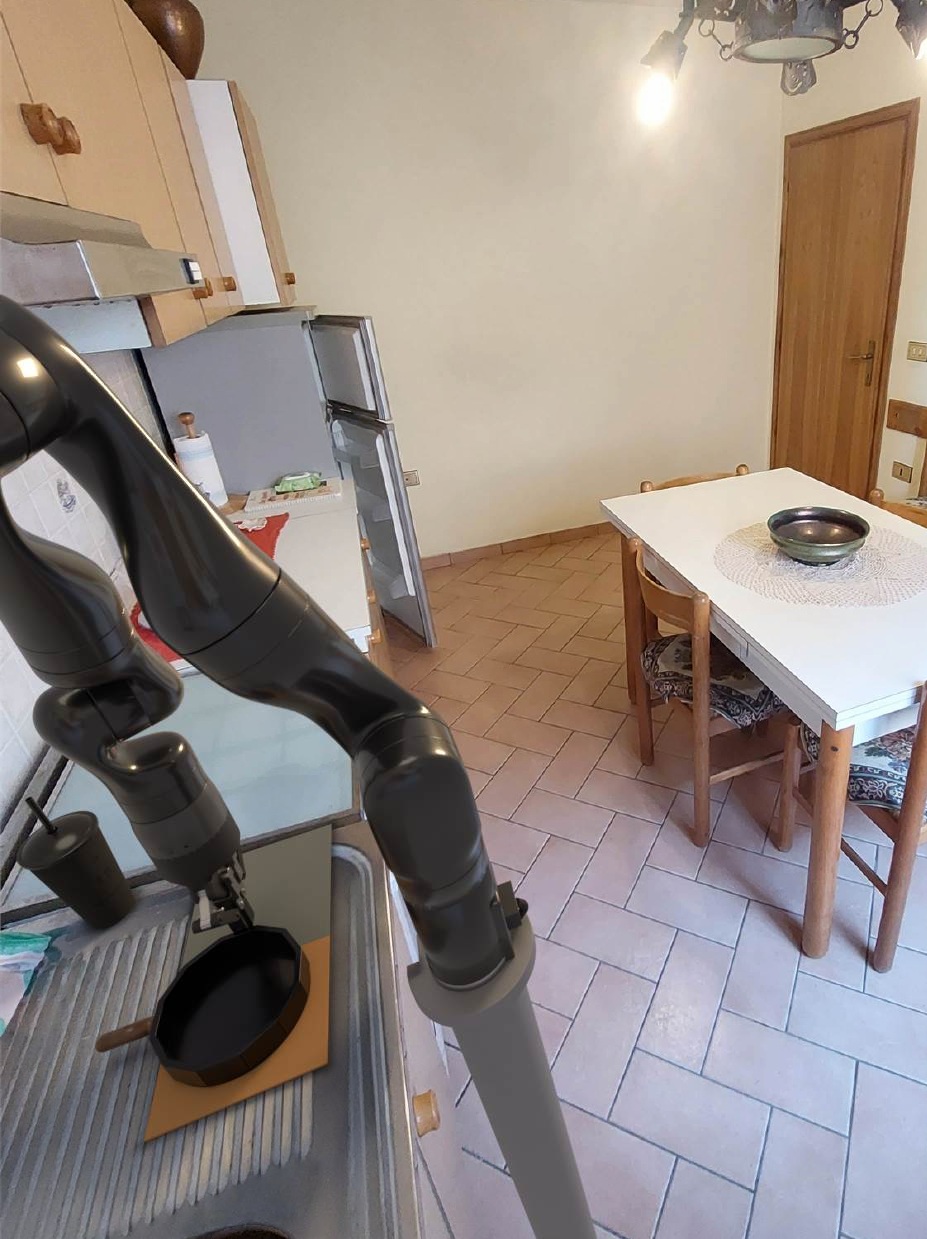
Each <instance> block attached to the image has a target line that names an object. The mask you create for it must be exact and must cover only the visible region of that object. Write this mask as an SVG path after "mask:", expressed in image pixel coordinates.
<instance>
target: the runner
mask: <svg viewBox="0 0 927 1239" xmlns="http://www.w3.org/2000/svg"><path fill="white" fill-rule="evenodd" d="M332 830H333V825H332V823H330V824H327V825H324V826H321V827H318V828H314V829H312V830H309V831H306V832H302V833H299V834H297V835H295V836H291V837H288V838H285V839H281V840H279V841H276V842H273V843H270V844H267V845H263V846H261V847H258V848H256V849H252V850H249V851H246V852H242V857H243V862H244V867H245V872H246V878H245V879H244V880H242V882H243V884H244V886H245V888H246V894H245V897H246V899H247V901H248V902H249V904H250V906H251V908H252V909H253V911H254V913H255V914H254V922H253V926H254V925H264V926H272V927H280V928H285V929H287V930H288V932H289V933H290V934H291V935H292V937H293V938H294V939H295V940H296V942H297V943H298V944H299V945H300V947H301V948H302V950H303V952H304V953H305V955H306V957H307V959H308V961H309V962H310V974H311V985H310V992H309V996H308V1000H307V1003H306V1006H305V1008H304V1011H303V1013H302V1015H301V1017H300V1019H299V1021H298V1022H297V1024H296V1026H295V1027H294V1029H293V1030H292V1032H291V1033H290V1034H289V1036H288V1037H287V1038H286V1040H285V1041H284V1042H283V1043H282V1044H281V1045H280V1047H279V1048H278V1049H277V1050H276V1051H275V1052H274V1053H273V1054H272V1055H271V1056H269V1057H268V1058H267V1059H266V1060H265V1061H264V1062H262V1063H261V1064H260V1065H258V1066H257V1067H256V1068H254V1069H253V1070H251V1071H250V1072H248V1073H246V1074H245V1075H243V1076H241V1077H239V1078H237V1079H235V1080H233V1081H230V1082H227V1083H224V1084H222V1085H217V1086H213V1087H193V1086H189V1085H186V1084H184V1083H182V1082H179V1081H175V1080H174V1079H173V1078H172V1077H171V1076H170V1075H169V1073H168V1072H167V1071H166V1070H165V1069H164V1067H163V1066H162V1065H161V1063H160V1065H159V1068H158V1074H157V1078H156V1083H155V1086H154V1092H153V1097H152V1101H151V1106H150V1111H149V1115H148V1120H147V1125H146V1128H145V1133H144V1138H143V1142H144V1143H147V1142H150V1141H152V1140H154V1139H157V1138H160V1137H161V1136H163V1135H166V1134H168V1133H171V1132H173V1131H175V1130H177V1129H180V1128H183V1127H185V1126H187V1125H189V1124H192V1123H194V1122H196V1121H199V1120H201V1119H203V1118H206V1117H208V1116H210V1115H213V1114H216V1113H217V1112H220V1111H222V1110H224V1109H227V1108H229V1107H231V1106H234V1105H237V1104H238V1103H241V1102H243V1101H245V1100H248V1099H251V1098H253V1097H255V1096H257V1095H260V1094H262V1093H264V1092H266V1091H269V1090H272V1089H274V1088H276V1087H278V1086H280V1085H283V1084H285V1083H288V1082H290V1081H292V1080H295V1079H297V1078H299V1077H302V1076H304V1075H306V1074H308V1073H312V1072H314V1071H316V1070H318V1069H320V1068H323V1067H325V1066H327V1065H328V1064H329V1019H330V1018H329V1015H330V1014H329V1009H330V959H331V958H330V956H331V954H330V951H331V950H330V949H331V896H332V895H331V894H332V893H331V890H332V889H331V888H332V886H331V884H332V838H333V837H332V834H333V831H332ZM198 915H200V910H199V904H195V903H194V907H193V912H192V916H191V922H190V926H189V930H188V935H187V940H186V944H185V947H184V948H185V949H184V954H183V958H182V962H181V967H180V970H181V969H182V968H183V966H184V965H185V964H186V963H188V962H189V961H190V960H191V959H193V958H194V957H195V956H197V955H198V954H199V953H201V952H202V951H203V950H204V949H206V948H207V947H208V946H210V945H211V944H212V943H214V942H215V941H216V940H217V939H219V938H221V937H223V936H226V935H228V934H231V933H234V932H233V931H232V930H231V929H230V927H229V925H228V924H227V925H224V926H221V927H218V928H215V929H211V930H208V931H204V932H200V933H196V934H194V933H193V931H192V923H193V921H196V920H197V916H198Z"/></svg>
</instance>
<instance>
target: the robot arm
mask: <svg viewBox="0 0 927 1239" xmlns="http://www.w3.org/2000/svg"><path fill="white" fill-rule="evenodd" d="M42 451H44V452H45V453H46V454H47V455H49V456H50V457H51V458H53V459H54V460H55V462H57V464H58V465H59V466H61V467H62V468H63V469H64V470H65V471H66V472H67V473H68V474H69V475H70V476H71V477H72V479H74V481H75V482H76V483H77V484H78V485H80V487H81V488H82V489H83V490H84V491H85V492H86V493H87V494H88V496H89V497H90V498H91V499H92V501H93V502H94V503H95V505H96V506H97V508H98V509H99V510H100V512H101V514H102V515H103V517H104V518H105V520H106V522H107V524H108V526H109V528H110V529H111V532H112V534H113V537H114V540H115V542H116V545H117V547H118V550H119V554H120V557H121V560H122V562H123V566H124V569H125V571H126V574H127V577H128V581H129V582H130V586H131V589H132V592H133V593H134V596H135V599H136V601H137V603H138V606H139V608H140V611H141V612H142V615H143V617H144V619H145V621H146V623H147V625H148V626H149V628H150V629H151V631H152V633H153V634H154V635H155V637H157V638H158V640H159V641H160V642H161V643H162V644H164V645H165V646H166V648H167V647H168V649H170V650H171V651H172V652H173V653H174V654H176V655H177V656H179V657H180V658H181V659H183V660H184V661H185V662H187V663H188V664H189V665H191V666H192V667H193V668H194V669H195V670H197V671H198V672H200V673H201V674H203V675H204V676H205V677H206V678H207V679H209V680H210V681H211V682H212V683H215V684H216V685H218V686H219V687H220V688H222V689H223V690H225V691H227V692H229V693H230V694H233V695H234V696H237V697H239V698H242V699H243V700H244V699H245V700H247V701H249V702H253V703H257V704H261V705H264V706H270V707H274V708H278V709H283V710H286V711H291V712H294V713H297V714H299V715H302V716H304V717H305V718H306V719H309V720H310V721H311V722H313V723H314V724H315V725H317V727H319V728H320V729H321V730H323V731H324V733H326V734H327V735H328V736H329V737H330V738H331V739H333V741H335V743H337V744H338V745H339V746H340V747H341V748H342V750H343V751H345V753H346V754H347V755H348V756H349V758H350V759H351V761H352V763H353V765H354V766H353V767H355V772H356V776H357V782H358V785H359V793H360V797H361V803H362V804H361V805H362V808H363V812H364V815H365V818H366V821H367V823H368V826H369V829H370V831H371V834H372V836H373V838H374V841H375V843H376V846H377V848H378V850H379V852H380V854H381V857H382V859H383V861H384V864H385V866H386V868H387V869H388V870H389V872H390V873H392V874H393V877H394V879H395V882H396V884H397V887H398V889H399V893H400V895H401V897H402V900H403V902H404V905H405V907H406V910H407V912H408V915H409V918H410V920H411V923H412V925H413V927H414V930H415V933H416V935H418V938H419V941H420V944H421V946H422V949H423V951H424V953H425V956H426V959H427V962H428V965H429V968H430V971H431V973H432V976H433V977H434V979H435V980H436V982H437V983H438V984H439V985H441V986H442V987H444V988H446V989H448V990H451V991H457V992H464V991H470V990H474V989H476V988H479V987H481V986H483V985H485V984H486V983H488V982H489V981H490V980H492V979H493V978H494V977H495V976H496V975H497V974H498V973H499V972H500V970H501V969H502V968H503V966H504V965H505V963H506V962H507V961H509V960H511V959H513V958H515V952H514V947H513V943H512V937H511V931H510V930H511V929H514V928H516V927H519V926H521V925H522V921H521V920H522V919H523V917H524V916H525V914H526V913H527V914H528V911H529V902H528V901H527V900H526V899H524V898H521V897H516V894H515V891H514V887H513V882H512V880H508V881H505V882H503V883H500V884H498V882H497V878H496V874H495V871H494V867H493V864H492V861H490V857H489V854H488V851H487V847H486V843H485V840H484V836H483V831H482V827H483V826H482V821H481V818H480V815H479V810H478V806H477V803H476V799H475V794H474V792H473V787H472V784H471V780H470V777H469V773H468V771H467V768H466V765H465V763H464V761H463V758H462V756H461V753H460V751H459V748H458V745H457V743H456V740H455V738H454V735H453V734H452V730H451V729H450V727H449V725H448V723H447V722H446V721H445V719H444V718H443V717H442V715H440V714H439V713H438V712H437V711H436V710H435V709H433V707H431V706H430V705H428V704H427V703H426V702H424V701H423V700H422V699H420V698H419V697H418V696H416V695H415V694H414V693H412V692H411V691H410V690H408V689H407V688H405V687H404V686H403V685H401V684H400V683H399V682H397V681H396V680H394V678H392V677H391V676H389V675H388V674H387V673H385V672H384V671H383V670H382V669H380V668H379V667H378V666H377V665H376V664H375V663H374V662H373V661H371V659H369V657H368V656H366V654H365V653H364V652H363V651H362V650H361V649H360V647H359V646H358V644H356V643H355V642H354V641H353V639H352V638H351V637H350V636H349V635H348V633H347V632H346V631H345V630H343V629H342V627H340V626H339V625H338V624H337V622H336V621H335V620H334V619H333V618H332V617H330V615H329V614H328V613H327V612H325V611H324V609H323V608H322V607H321V606H320V604H318V603H317V602H316V600H315V599H314V598H313V597H311V595H310V594H309V593H308V592H307V591H306V590H305V589H303V587H302V586H301V585H299V584H298V583H297V582H296V580H294V579H293V578H292V577H291V576H290V575H289V574H288V573H287V572H286V571H285V570H284V569H283V568H282V567H281V566H280V565H279V564H278V563H277V562H276V561H274V559H272V558H271V557H270V555H268V554H266V552H264V551H263V550H262V549H261V548H260V547H259V546H257V545H256V544H255V543H254V542H253V541H252V540H251V539H250V538H248V537H247V535H245V533H244V532H242V531H241V529H240V528H238V527H237V525H236V524H234V523H233V521H232V520H230V518H229V517H227V516H226V515H225V514H224V513H223V511H222V510H221V509H220V508H218V507H217V506H216V504H214V503H213V501H212V500H211V499H210V498H209V497H208V496H207V495H206V494H205V493H204V492H203V491H202V490H201V489H200V488H199V487H198V486H197V485H196V484H195V483H194V482H193V481H192V480H191V479H190V478H189V477H188V476H187V475H186V474H185V473H184V472H183V470H182V469H181V468H180V467H179V466H178V465H177V464H176V463H175V462H174V460H173V459H172V458H171V457H170V456H169V455H168V454H167V452H166V451H165V450H164V449H163V448H162V447H161V445H160V444H159V443H158V442H157V441H156V440H155V438H154V437H153V436H152V435H151V434H150V433H149V431H148V430H147V429H146V428H145V427H144V426H143V425H142V423H141V422H140V421H139V420H138V419H137V417H136V416H135V415H134V414H133V413H132V411H130V409H129V408H128V407H127V406H126V404H124V402H122V400H121V399H120V397H119V396H118V395H117V394H116V393H115V391H113V390H112V388H111V387H110V386H109V385H108V384H107V382H106V381H105V380H104V379H103V378H102V377H101V376H100V374H98V373H97V371H96V370H95V369H94V368H93V366H91V364H90V363H89V362H88V361H87V360H86V359H85V358H84V357H83V356H82V355H81V354H80V353H79V352H78V351H77V349H75V347H74V346H73V345H72V344H71V343H70V342H68V340H67V339H66V338H64V337H63V336H62V335H61V334H60V333H59V332H58V331H56V329H54V328H53V327H52V326H51V325H50V324H48V323H47V322H46V321H45V320H44V319H42V318H41V317H40V316H38V315H37V314H36V313H35V312H33V311H32V310H30V309H28V308H27V307H25V305H22V304H21V303H20V302H17V301H16V300H14V299H12V298H11V297H8V296H5V295H4V294H1V293H0V622H1V624H2V625H3V627H4V629H5V630H6V632H7V634H8V635H9V636H10V638H11V639H12V641H13V643H14V644H15V646H16V648H17V649H18V650H19V652H20V653H21V655H22V657H23V658H24V660H25V661H26V664H28V666H29V667H30V669H31V671H32V672H33V674H34V675H35V676H36V677H37V678H38V679H39V680H40V681H42V682H44V684H46V685H48V686H50V687H49V688H47V689H46V690H44V691H43V692H42V693H40V695H38V697H37V699H36V700H35V703H34V705H33V708H32V713H31V716H32V723H33V726H34V729H35V731H36V732H37V734H38V735H39V737H40V738H41V739H42V740H43V741H44V742H45V743H46V744H47V745H48V746H49V747H50V748H52V749H53V750H54V751H55V752H57V753H59V754H60V755H62V756H63V757H65V758H66V759H68V760H69V761H71V762H73V763H75V764H76V765H78V766H80V767H81V768H83V769H84V770H85V771H87V772H88V773H90V774H91V775H92V776H94V777H95V778H96V779H97V780H99V781H100V782H101V784H102V785H104V786H105V788H106V789H107V790H108V791H109V793H110V794H111V795H112V797H113V798H114V799H115V801H116V803H117V804H118V806H119V808H120V809H121V810H122V812H123V813H124V815H125V816H126V818H127V819H128V822H129V824H130V827H131V830H132V832H133V835H134V836H135V837H136V840H137V841H138V843H139V844H140V845H141V847H142V849H143V850H144V852H145V853H146V854H147V856H148V857H149V859H150V860H151V862H152V863H153V865H154V867H155V868H156V869H157V871H158V873H159V874H160V876H161V877H162V878H163V879H164V880H165V881H166V882H168V883H170V884H173V885H177V886H181V887H185V888H187V890H188V893H189V896H190V900H191V902H192V903H193V904H194V905H195V904H199V910H200V915H198V916H197V920H196V921H193V923H192V931H193V933H194V934H196V933H200V932H204V931H208V930H211V929H215V928H218V927H221V926H224V925H227V924H228V925H229V927H230V929H231V930H232V931H233V932H237V931H240V930H242V929H245V928H248V927H251V926H253V922H254V914H255V913H254V911H253V909H252V908H251V906H250V904H249V902H248V901H247V899H246V897H245V894H246V888H245V886H244V884H243V882H242V880H244V879H245V878H246V872H245V867H244V862H243V857H242V854H243V851H242V848H241V830H240V828H239V826H238V824H237V823H236V820H235V818H234V817H233V814H232V813H231V812H230V809H229V808H228V806H227V804H226V801H225V800H224V798H223V796H222V795H221V792H220V791H219V789H218V787H217V786H216V784H215V783H214V782H213V781H212V780H211V778H210V777H209V776H208V774H207V773H206V771H205V770H204V767H203V765H202V764H201V762H200V760H199V758H198V756H197V754H196V752H195V750H194V748H193V747H192V745H191V743H190V742H189V741H188V739H186V737H185V736H184V735H183V734H180V733H178V732H175V731H171V730H169V731H168V730H165V731H164V730H162V731H157V732H152V733H148V734H144V735H142V736H138V737H135V736H137V735H138V734H140V733H142V732H143V731H146V730H147V729H149V728H151V727H154V726H156V725H157V724H159V723H160V722H163V721H164V720H166V719H168V718H169V717H171V716H172V715H174V713H176V712H177V711H178V709H179V708H180V706H181V705H182V703H183V700H184V697H185V684H184V681H183V679H182V676H181V674H180V673H179V672H178V670H177V669H176V668H175V666H174V665H173V664H172V663H171V662H170V661H169V660H167V658H165V657H164V656H163V655H162V654H161V653H159V652H158V651H157V650H156V649H154V648H153V647H152V646H151V645H149V644H148V643H147V642H145V641H144V639H142V638H141V636H140V634H139V633H138V632H137V630H136V628H135V627H134V624H133V622H132V620H131V617H130V615H129V613H128V610H127V608H126V605H125V603H124V601H123V598H122V596H121V594H120V591H119V590H118V588H117V586H116V585H115V583H114V581H113V580H112V578H111V577H110V575H109V574H108V573H107V572H106V571H105V570H104V569H103V568H102V567H101V566H100V565H99V564H98V563H96V561H94V560H93V559H91V558H89V557H88V556H87V555H84V554H82V553H81V552H79V551H77V550H75V549H72V548H70V547H68V546H65V545H63V544H61V543H57V542H55V541H52V540H49V539H46V538H44V537H42V536H39V535H38V534H34V533H32V532H30V531H29V530H26V529H24V528H23V527H22V526H20V525H19V524H18V523H17V521H16V520H15V519H14V517H13V516H12V514H11V511H10V508H9V507H8V504H7V501H6V498H5V496H4V492H3V486H2V479H3V478H4V477H6V476H8V475H9V474H11V473H13V472H14V471H16V470H17V469H19V468H20V467H21V466H22V465H24V464H25V463H26V462H28V461H30V460H31V459H32V458H33V457H35V456H36V455H37V454H38V453H39V454H40V452H42ZM132 737H135V738H132ZM130 738H132V739H130ZM518 908H519V910H518Z"/></svg>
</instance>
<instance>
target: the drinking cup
mask: <svg viewBox="0 0 927 1239" xmlns="http://www.w3.org/2000/svg"><path fill="white" fill-rule="evenodd" d="M24 802H25V803H26V805H27V806H28V808H29V809H30V810H31V811H32V813H33V814H34V816H36V819H38V821H39V822H40V823H41V826H40V827H39V828H38V829H36V830H35V831H33V833H31V834H30V835H29V836H28V837H27V838H26V839H25V840H24V841H23V843H22V844H21V845H20V847H19V848H18V851H17V852H16V862H17V864H18V866H19V867H20V868H22V869H24V870H26V871H29V872H30V873H32V874H33V875H34V876H35V877H36V878H37V879H38V880H39V881H40V882H42V884H44V885H45V886H46V887H47V888H48V889H49V890H50V891H51V892H53V893H54V895H56V896H57V897H58V898H59V899H60V900H61V901H62V902H64V904H66V905H67V906H68V907H69V908H70V909H71V910H73V912H74V913H75V914H77V915H78V916H79V917H80V918H81V919H82V920H83V921H84V922H85V923H87V924H88V926H90V927H91V928H92V929H94V930H102V929H106V928H110V927H111V926H114V925H115V924H117V923H119V922H120V921H121V920H123V919H124V918H125V917H126V916H127V915H128V914H129V913H130V912H131V910H132V909H133V907H134V905H135V902H136V896H135V895H134V893H133V891H132V889H131V887H130V884H129V882H128V881H127V878H126V877H125V875H124V873H123V871H122V869H121V867H120V865H119V863H118V860H117V859H116V858H115V855H114V853H113V851H112V849H111V848H110V846H109V844H108V841H107V840H106V838H105V835H104V834H103V832H102V830H101V827H100V826H99V824H100V821H99V820H100V819H99V818H98V816H97V814H95V813H94V812H92V811H89V810H76V811H72V812H69V813H66V814H63V815H60V816H58V817H56V818H54V819H51V820H50V819H49V818H48V816H47V815H46V814H45V812H44V811H43V809H42V808H41V807H40V805H39V804H38V802H37V801H36V800H35V798H33V796H28V797H27V798H25V799H24Z"/></svg>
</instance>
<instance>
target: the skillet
mask: <svg viewBox="0 0 927 1239" xmlns="http://www.w3.org/2000/svg"><path fill="white" fill-rule="evenodd" d="M310 985H311V974H310V962H309V961H308V959H307V957H306V955H305V953H304V952H303V950H302V948H301V947H300V945H299V944H298V943H297V942H296V940H295V939H294V938H293V937H292V935H291V934H290V933H289V932H288V930H287V929H285V928H280V927H272V926H264V925H254V926H251V927H248V928H245V929H242V930H240V931H237V932H234V933H231V934H228V935H226V936H223V937H221V938H219V939H217V940H216V941H215V942H214V943H212V944H211V945H210V946H208V947H207V948H206V949H204V950H203V951H202V952H201V953H199V954H198V955H197V956H195V957H194V958H193V959H191V960H190V961H189V962H188V963H186V964H185V965H184V966H183V968H182V969H181V968H180V970H179V972H178V973H177V975H176V976H175V977H174V978H173V980H172V981H171V983H170V984H169V986H168V987H167V988H166V990H165V991H164V992H163V994H162V995H161V996H160V998H159V999H158V1001H157V1005H156V1008H155V1012H154V1015H151V1016H148V1017H145V1018H143V1019H140V1020H137V1021H135V1022H132V1023H130V1024H126V1025H124V1026H122V1027H119V1028H116V1029H113V1030H111V1031H108V1032H106V1033H103V1034H102V1035H100V1036H99V1037H98V1038H97V1040H96V1042H95V1044H94V1048H95V1051H96V1052H97V1053H101V1054H102V1053H103V1054H104V1053H106V1052H109V1051H112V1050H114V1049H117V1048H120V1047H122V1046H125V1045H128V1044H130V1043H133V1042H135V1041H138V1040H140V1039H144V1038H146V1037H148V1041H149V1043H150V1046H151V1047H152V1049H153V1051H154V1053H155V1055H156V1057H157V1059H158V1061H159V1063H160V1064H161V1065H162V1066H163V1067H164V1069H165V1070H166V1071H167V1072H168V1073H169V1075H170V1076H171V1077H172V1078H173V1079H174V1080H175V1081H179V1082H182V1083H184V1084H186V1085H189V1086H193V1087H213V1086H217V1085H222V1084H224V1083H227V1082H230V1081H233V1080H235V1079H237V1078H239V1077H241V1076H243V1075H245V1074H246V1073H248V1072H250V1071H251V1070H253V1069H254V1068H256V1067H257V1066H258V1065H260V1064H261V1063H262V1062H264V1061H265V1060H266V1059H267V1058H268V1057H269V1056H271V1055H272V1054H273V1053H274V1052H275V1051H276V1050H277V1049H278V1048H279V1047H280V1045H281V1044H282V1043H283V1042H284V1041H285V1040H286V1038H287V1037H288V1036H289V1034H290V1033H291V1032H292V1030H293V1029H294V1027H295V1026H296V1024H297V1022H298V1021H299V1019H300V1017H301V1015H302V1013H303V1011H304V1008H305V1006H306V1003H307V1000H308V996H309V992H310Z"/></svg>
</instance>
